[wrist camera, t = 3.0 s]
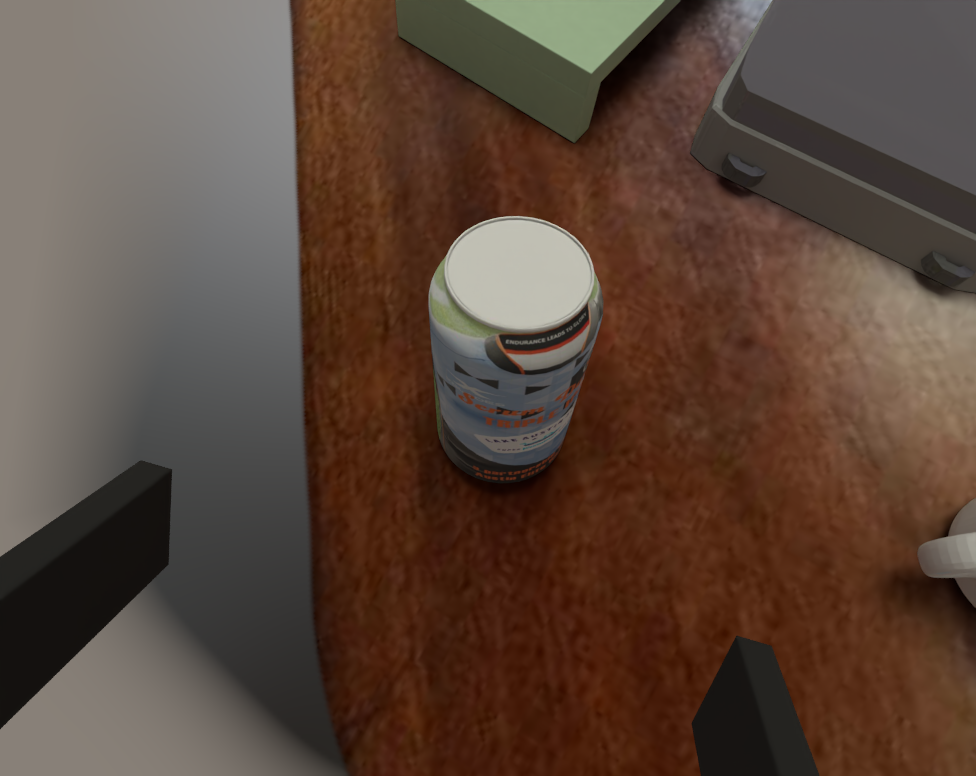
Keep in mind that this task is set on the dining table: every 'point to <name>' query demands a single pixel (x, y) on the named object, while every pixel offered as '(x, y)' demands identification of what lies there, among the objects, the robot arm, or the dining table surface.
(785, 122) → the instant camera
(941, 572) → the cup
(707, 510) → the dining table surface
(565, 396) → the beverage can
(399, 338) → the dining table surface
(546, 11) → the green flat box
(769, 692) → the robot arm
